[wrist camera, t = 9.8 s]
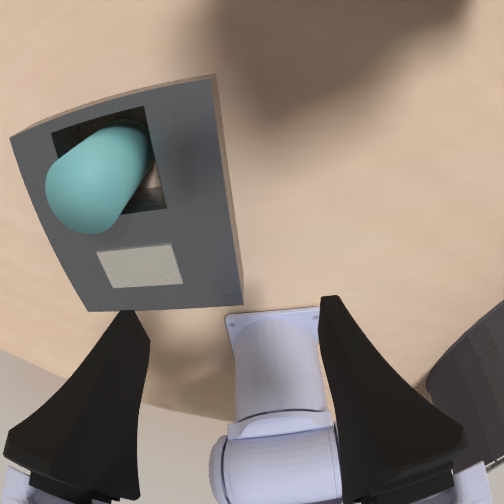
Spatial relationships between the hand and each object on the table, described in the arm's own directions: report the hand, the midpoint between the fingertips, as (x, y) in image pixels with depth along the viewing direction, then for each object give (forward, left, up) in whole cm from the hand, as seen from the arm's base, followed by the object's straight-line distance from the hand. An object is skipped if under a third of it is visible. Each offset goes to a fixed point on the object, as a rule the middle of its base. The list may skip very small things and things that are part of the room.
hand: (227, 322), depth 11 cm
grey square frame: (+1, +6, -9) cm, 11 cm away
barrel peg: (+4, +6, -9) cm, 12 cm away
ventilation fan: (-27, -39, -10) cm, 48 cm away
